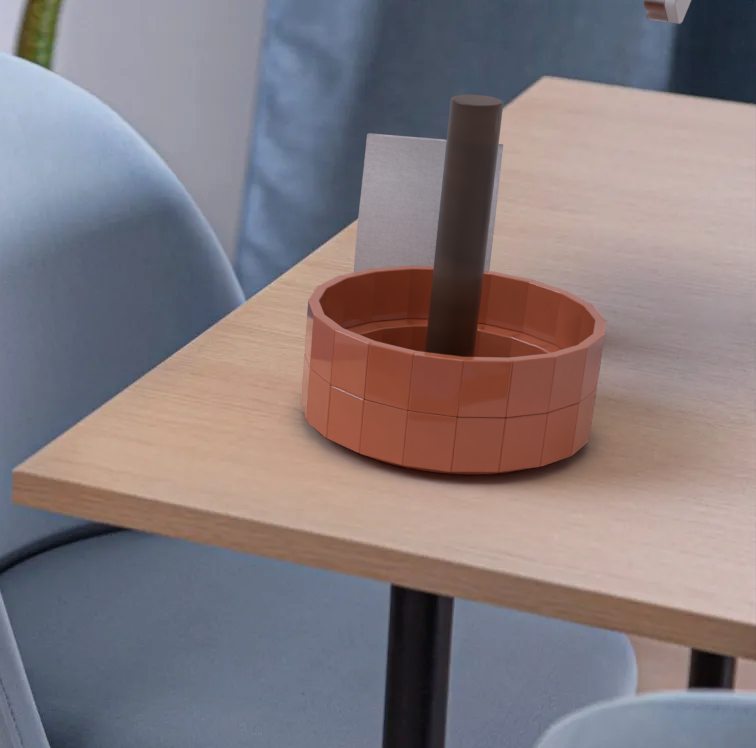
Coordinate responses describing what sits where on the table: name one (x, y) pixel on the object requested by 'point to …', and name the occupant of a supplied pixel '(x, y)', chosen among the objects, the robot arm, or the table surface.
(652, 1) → the robot arm
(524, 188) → the table surface
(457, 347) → the rod
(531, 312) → the bowl
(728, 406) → the table surface
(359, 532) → the table surface
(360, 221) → the grey rectangular block
